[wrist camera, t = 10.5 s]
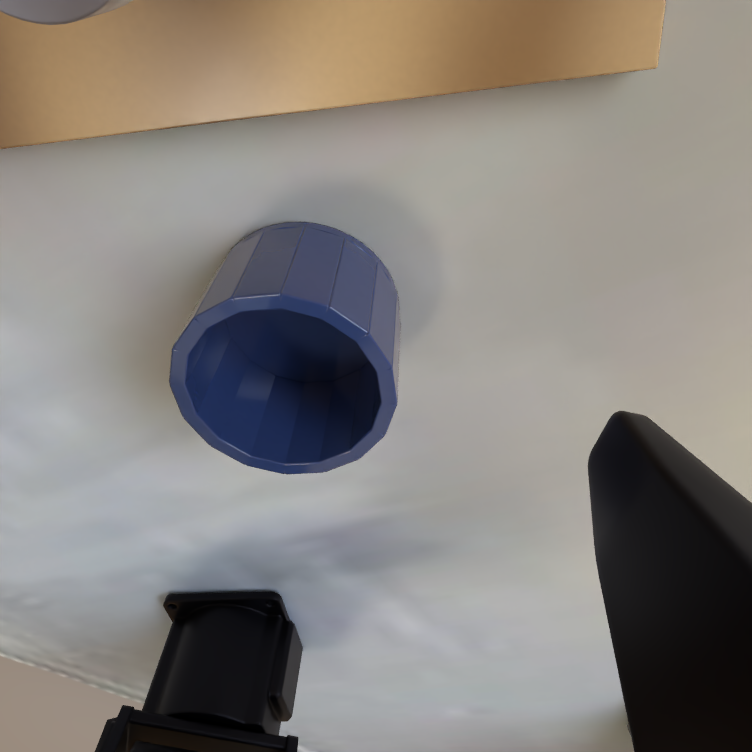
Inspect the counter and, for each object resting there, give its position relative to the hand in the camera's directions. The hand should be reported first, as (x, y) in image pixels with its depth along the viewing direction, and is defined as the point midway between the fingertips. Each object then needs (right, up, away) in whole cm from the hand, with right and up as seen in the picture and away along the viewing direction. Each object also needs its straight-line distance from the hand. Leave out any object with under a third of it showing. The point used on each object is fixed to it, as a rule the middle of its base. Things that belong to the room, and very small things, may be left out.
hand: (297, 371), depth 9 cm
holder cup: (-1, +2, +14) cm, 14 cm away
